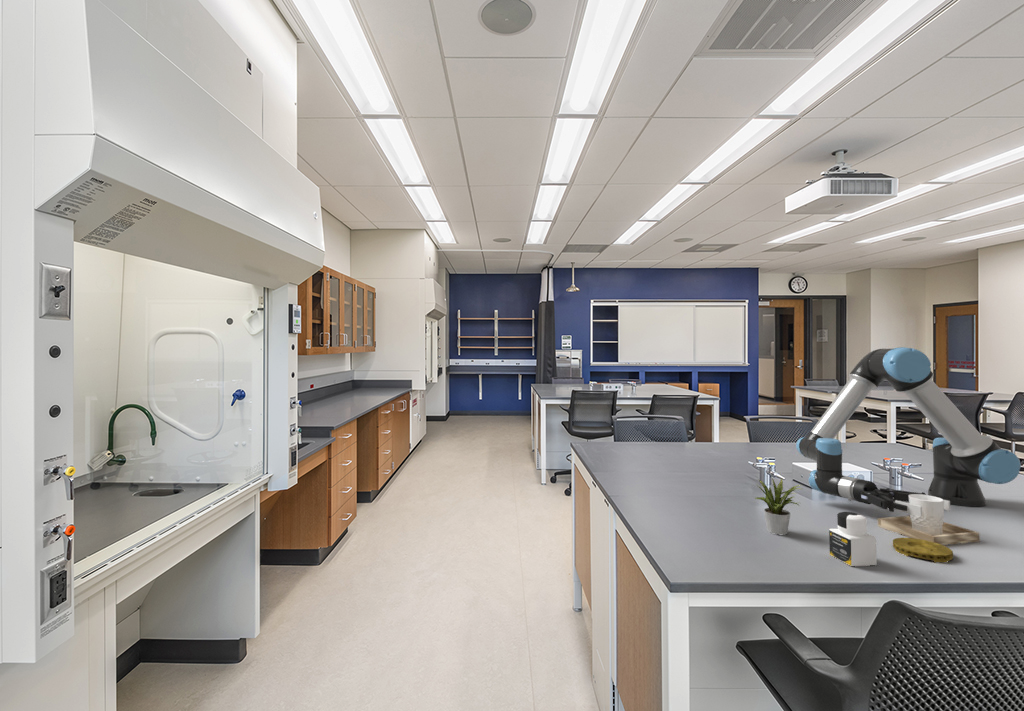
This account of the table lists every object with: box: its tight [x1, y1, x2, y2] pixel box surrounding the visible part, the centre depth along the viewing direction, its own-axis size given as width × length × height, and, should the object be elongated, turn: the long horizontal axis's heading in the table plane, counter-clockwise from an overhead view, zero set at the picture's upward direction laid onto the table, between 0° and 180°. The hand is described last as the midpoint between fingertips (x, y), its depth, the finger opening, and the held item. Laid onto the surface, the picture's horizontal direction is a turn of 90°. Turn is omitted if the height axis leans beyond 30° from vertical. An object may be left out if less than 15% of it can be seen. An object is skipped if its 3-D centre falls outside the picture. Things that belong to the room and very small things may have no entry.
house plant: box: [754, 477, 803, 535], centre depth 138 cm, size 14×14×16 cm
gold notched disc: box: [892, 537, 954, 563], centre depth 123 cm, size 12×12×2 cm
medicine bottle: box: [828, 511, 878, 567], centre depth 119 cm, size 7×7×12 cm
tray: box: [877, 515, 980, 546], centre depth 137 cm, size 16×16×2 cm
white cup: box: [908, 494, 945, 535], centre depth 137 cm, size 8×8×10 cm
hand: (935, 508), depth 134 cm, fingers open, 13 cm apart
